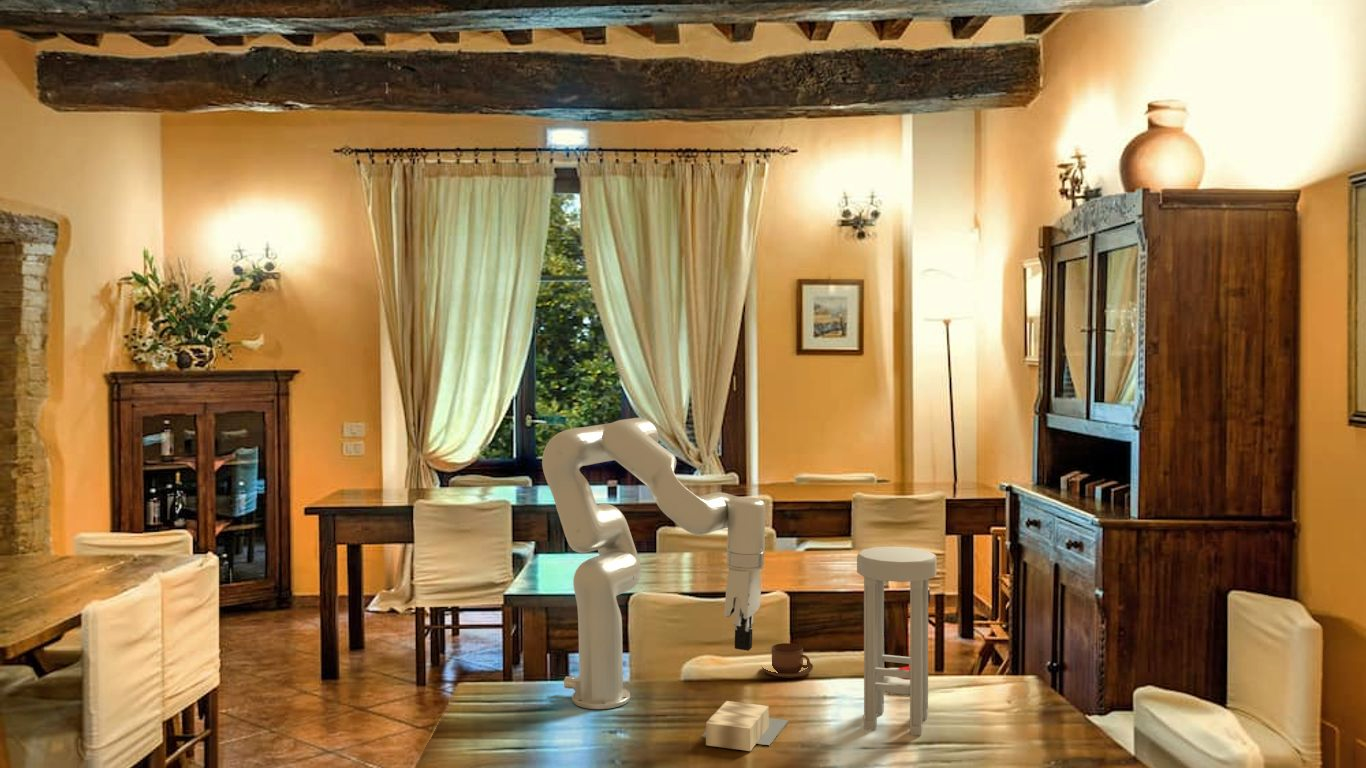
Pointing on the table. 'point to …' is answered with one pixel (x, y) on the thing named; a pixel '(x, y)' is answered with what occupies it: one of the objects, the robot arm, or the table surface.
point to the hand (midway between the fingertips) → (743, 648)
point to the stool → (876, 570)
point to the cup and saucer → (789, 661)
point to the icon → (898, 681)
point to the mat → (769, 731)
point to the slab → (737, 725)
